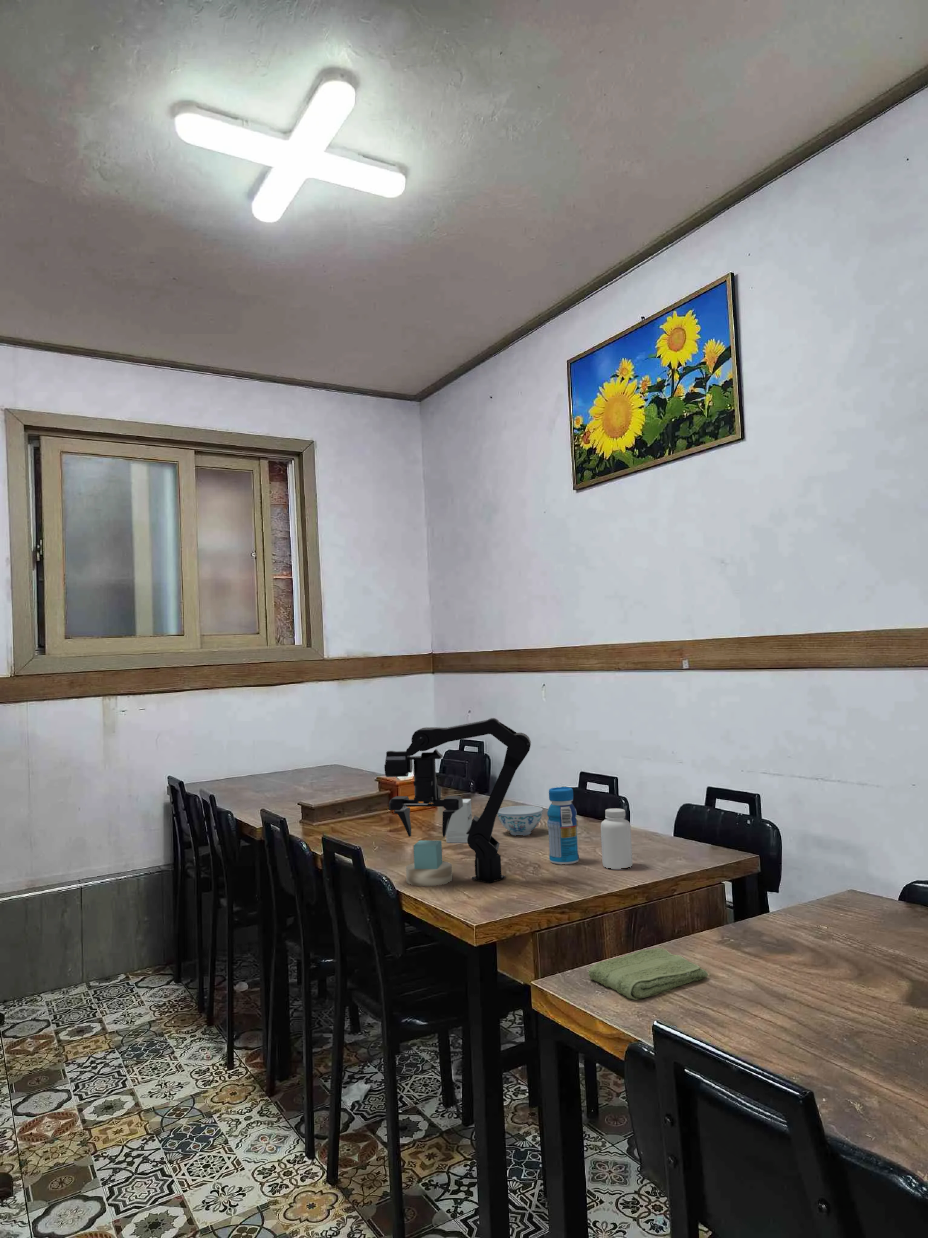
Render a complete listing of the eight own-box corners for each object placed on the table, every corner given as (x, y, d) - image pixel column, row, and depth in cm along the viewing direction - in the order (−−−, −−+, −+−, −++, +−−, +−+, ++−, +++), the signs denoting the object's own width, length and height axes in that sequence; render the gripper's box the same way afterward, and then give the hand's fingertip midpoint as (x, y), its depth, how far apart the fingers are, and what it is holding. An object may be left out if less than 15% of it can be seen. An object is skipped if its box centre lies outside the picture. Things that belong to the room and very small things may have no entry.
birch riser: (461, 879, 212) (461, 863, 212) (431, 890, 203) (431, 874, 203) (427, 873, 219) (426, 858, 220) (396, 884, 210) (396, 868, 210)
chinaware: (513, 827, 275) (512, 804, 275) (552, 831, 266) (551, 807, 266) (488, 836, 263) (487, 812, 263) (528, 840, 254) (527, 815, 254)
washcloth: (712, 981, 139) (711, 962, 139) (633, 1006, 130) (632, 985, 130) (659, 959, 150) (658, 941, 150) (583, 980, 141) (582, 961, 142)
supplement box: (468, 843, 253) (467, 802, 254) (445, 843, 255) (444, 802, 255) (473, 838, 260) (471, 798, 261) (450, 838, 262) (449, 798, 263)
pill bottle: (638, 865, 217) (635, 809, 218) (622, 872, 211) (619, 813, 212) (613, 861, 222) (610, 806, 223) (596, 867, 216) (593, 811, 217)
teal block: (442, 863, 213) (441, 840, 214) (437, 869, 208) (436, 845, 208) (420, 863, 215) (419, 840, 215) (414, 869, 209) (413, 845, 209)
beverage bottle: (544, 864, 223) (540, 790, 224) (555, 857, 230) (552, 786, 231) (573, 866, 219) (569, 791, 220) (583, 859, 226) (580, 787, 228)
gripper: (465, 771, 218) (468, 830, 218) (399, 772, 222) (401, 830, 221) (457, 777, 208) (459, 839, 207) (387, 778, 211) (389, 838, 210)
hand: (427, 836), depth 212 cm, fingers open, 9 cm apart
